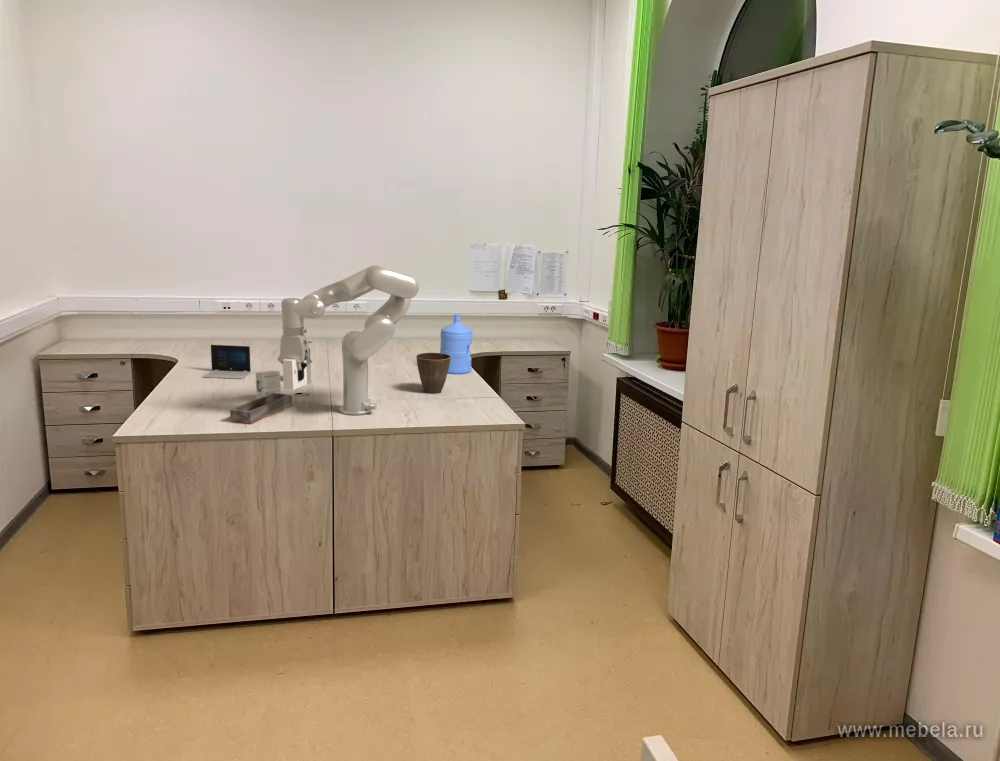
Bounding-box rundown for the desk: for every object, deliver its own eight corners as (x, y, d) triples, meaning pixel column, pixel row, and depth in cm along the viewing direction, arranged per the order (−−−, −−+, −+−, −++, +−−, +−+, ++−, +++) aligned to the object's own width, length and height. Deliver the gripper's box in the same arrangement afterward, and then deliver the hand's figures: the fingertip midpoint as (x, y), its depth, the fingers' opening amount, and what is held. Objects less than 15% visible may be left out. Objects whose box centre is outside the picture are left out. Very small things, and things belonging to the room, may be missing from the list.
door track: (292, 405, 303) (291, 394, 302) (250, 424, 277) (250, 412, 276) (273, 403, 305) (273, 392, 304) (230, 421, 279) (230, 409, 278)
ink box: (263, 402, 305) (262, 374, 303) (255, 400, 309) (254, 372, 306) (281, 399, 312) (280, 371, 309) (274, 396, 315) (273, 369, 312)
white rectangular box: (307, 383, 292) (306, 355, 290) (293, 389, 283) (292, 360, 280) (297, 382, 293) (296, 354, 291) (283, 388, 284) (282, 360, 282)
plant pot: (444, 397, 326) (445, 360, 323) (411, 394, 329) (411, 357, 326) (453, 389, 341) (454, 354, 337) (421, 386, 343) (422, 351, 340)
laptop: (202, 378, 342) (200, 349, 339) (211, 372, 354) (210, 344, 351) (242, 379, 342) (241, 351, 339) (250, 373, 354) (250, 346, 351)
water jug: (448, 375, 367) (449, 317, 361) (434, 368, 380) (435, 313, 374) (476, 373, 375) (478, 316, 368) (462, 366, 388) (464, 311, 381)
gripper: (318, 331, 285) (320, 379, 289) (279, 328, 289) (281, 375, 293) (308, 334, 278) (310, 383, 282) (268, 331, 282) (270, 379, 286)
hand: (295, 378), depth 288 cm, fingers closed on white rectangular box, 4 cm apart
